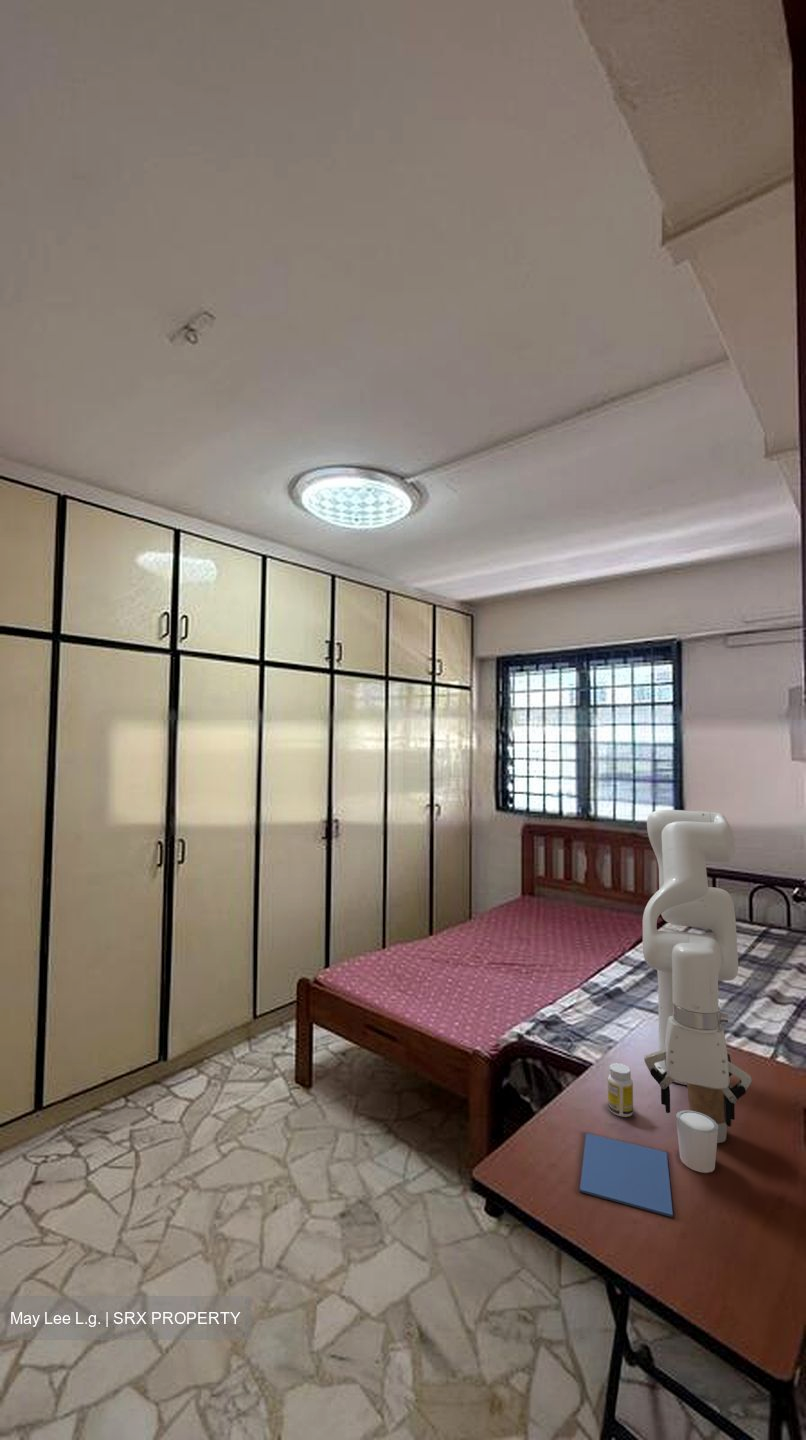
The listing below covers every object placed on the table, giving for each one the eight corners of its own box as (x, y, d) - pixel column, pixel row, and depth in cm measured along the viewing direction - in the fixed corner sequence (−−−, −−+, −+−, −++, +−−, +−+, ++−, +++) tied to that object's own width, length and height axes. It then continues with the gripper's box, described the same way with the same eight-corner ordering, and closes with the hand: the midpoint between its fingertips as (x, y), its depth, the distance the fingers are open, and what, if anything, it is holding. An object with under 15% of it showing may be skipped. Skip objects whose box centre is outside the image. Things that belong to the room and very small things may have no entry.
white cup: (668, 1149, 107) (668, 1109, 108) (704, 1148, 108) (703, 1108, 108) (689, 1176, 100) (689, 1133, 101) (727, 1174, 101) (727, 1132, 101)
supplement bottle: (632, 1106, 120) (632, 1064, 121) (633, 1119, 116) (633, 1076, 117) (608, 1102, 122) (607, 1060, 123) (608, 1114, 118) (607, 1071, 118)
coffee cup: (740, 1150, 107) (739, 1066, 108) (691, 1143, 109) (690, 1060, 110) (725, 1123, 116) (723, 1045, 117) (679, 1117, 117) (678, 1040, 118)
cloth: (586, 1134, 111) (586, 1132, 111) (666, 1154, 106) (666, 1152, 106) (579, 1191, 96) (579, 1189, 96) (673, 1217, 91) (672, 1215, 91)
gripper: (746, 1016, 106) (748, 1116, 105) (643, 1000, 112) (644, 1094, 111) (754, 1033, 99) (756, 1140, 98) (644, 1015, 105) (645, 1115, 104)
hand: (696, 1115), depth 104 cm, fingers open, 9 cm apart
